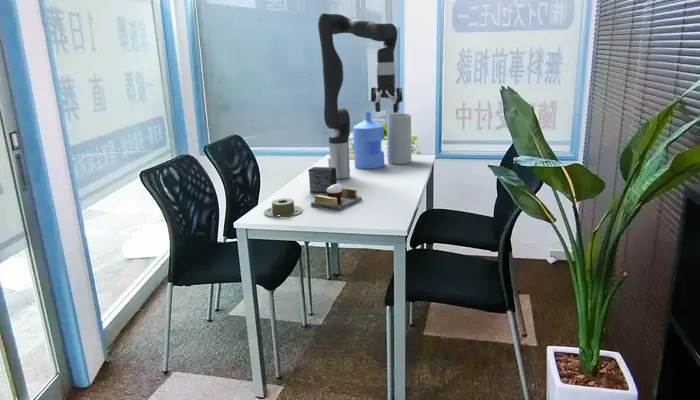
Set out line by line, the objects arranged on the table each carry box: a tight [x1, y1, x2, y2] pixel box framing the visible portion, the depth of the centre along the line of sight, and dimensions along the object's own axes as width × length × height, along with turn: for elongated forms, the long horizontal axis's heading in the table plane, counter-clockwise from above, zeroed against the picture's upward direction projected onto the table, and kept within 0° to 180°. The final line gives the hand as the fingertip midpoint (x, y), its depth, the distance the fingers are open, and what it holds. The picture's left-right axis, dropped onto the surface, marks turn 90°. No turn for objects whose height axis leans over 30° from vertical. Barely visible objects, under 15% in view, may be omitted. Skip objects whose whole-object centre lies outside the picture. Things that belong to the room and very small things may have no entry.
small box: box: [308, 166, 333, 194], centre depth 235 cm, size 11×6×10 cm, turn 71°
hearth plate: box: [310, 186, 363, 211], centre depth 217 cm, size 14×16×4 cm
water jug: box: [352, 111, 385, 170], centre depth 276 cm, size 16×16×28 cm
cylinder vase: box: [386, 113, 412, 166], centre depth 282 cm, size 12×12×25 cm
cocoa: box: [326, 168, 343, 200], centre depth 216 cm, size 10×6×12 cm, turn 158°
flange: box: [263, 198, 304, 219], centre depth 209 cm, size 5×15×15 cm
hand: (386, 112), depth 229 cm, fingers open, 8 cm apart
